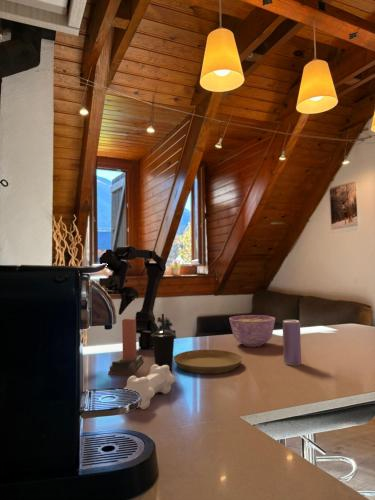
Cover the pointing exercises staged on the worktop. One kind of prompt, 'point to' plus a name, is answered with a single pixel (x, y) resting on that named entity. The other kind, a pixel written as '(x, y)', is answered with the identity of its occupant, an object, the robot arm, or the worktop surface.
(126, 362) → the press track
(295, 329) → the beverage can
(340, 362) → the worktop surface
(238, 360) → the plant saucer
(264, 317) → the bowl of food
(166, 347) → the drinking cup
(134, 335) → the post
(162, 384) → the bone shaped toy
